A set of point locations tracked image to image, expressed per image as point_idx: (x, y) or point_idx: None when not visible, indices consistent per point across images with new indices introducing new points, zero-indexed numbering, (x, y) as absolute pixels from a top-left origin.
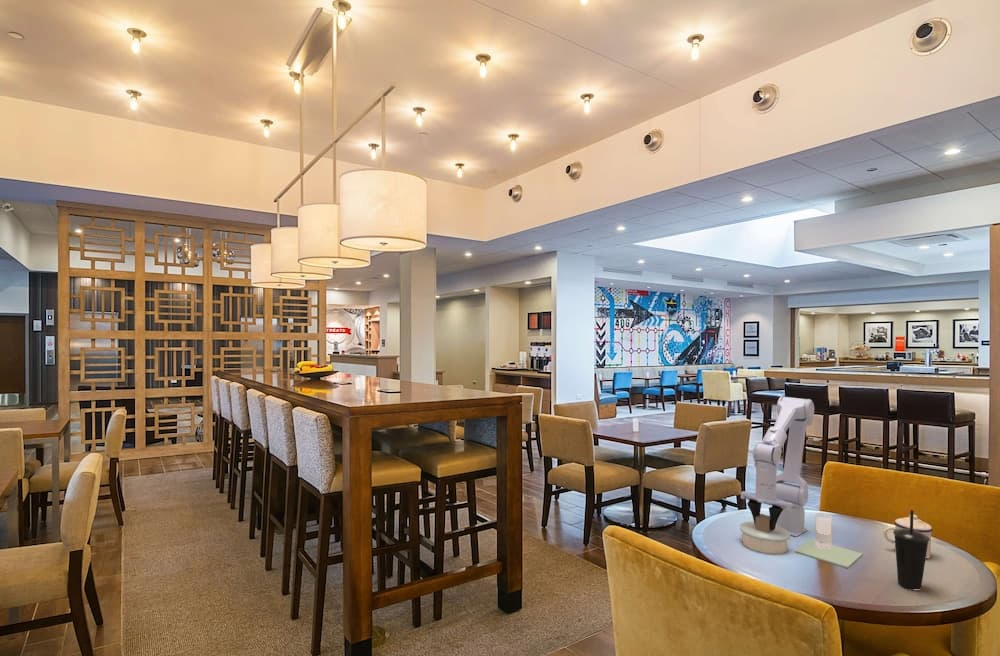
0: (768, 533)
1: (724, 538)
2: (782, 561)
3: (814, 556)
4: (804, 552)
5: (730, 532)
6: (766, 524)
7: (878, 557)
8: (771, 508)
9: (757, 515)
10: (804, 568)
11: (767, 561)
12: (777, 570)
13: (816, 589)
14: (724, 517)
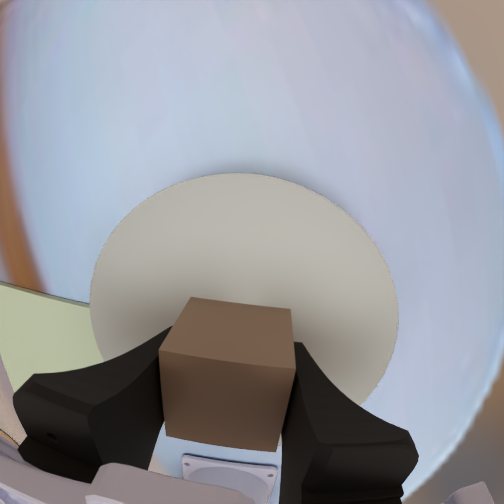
0: (190, 293)
1: (434, 245)
2: (113, 152)
3: (49, 300)
4: (84, 318)
5: (421, 344)
6: (192, 328)
7: (7, 405)
8: (63, 417)
9: (291, 408)
10: (41, 156)
11: (164, 91)
12: (109, 38)
13: (8, 30)
14: (441, 450)
